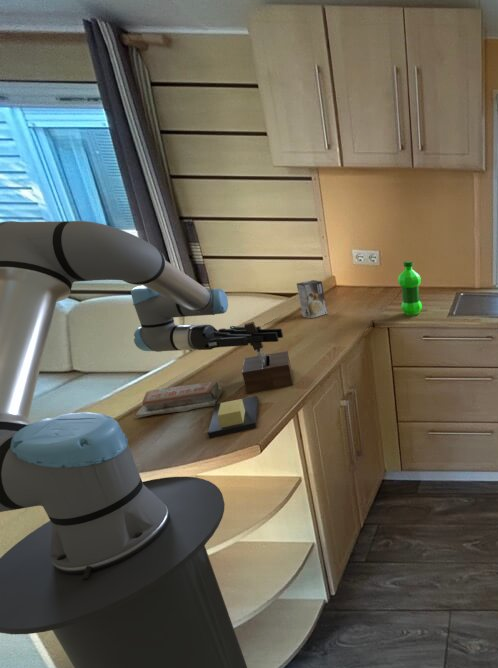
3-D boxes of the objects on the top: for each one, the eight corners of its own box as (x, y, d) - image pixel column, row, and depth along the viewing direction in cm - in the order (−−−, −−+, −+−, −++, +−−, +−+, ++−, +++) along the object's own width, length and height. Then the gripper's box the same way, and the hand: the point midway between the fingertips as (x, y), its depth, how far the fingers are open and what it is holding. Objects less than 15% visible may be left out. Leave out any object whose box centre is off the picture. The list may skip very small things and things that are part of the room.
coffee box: (319, 311, 198) (314, 279, 192) (327, 314, 195) (322, 281, 189) (302, 316, 191) (296, 283, 185) (310, 318, 188) (304, 284, 182)
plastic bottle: (397, 316, 192) (392, 263, 183) (407, 310, 201) (403, 259, 192) (417, 317, 190) (413, 264, 181) (426, 311, 199) (422, 260, 190)
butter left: (232, 425, 101) (228, 413, 100) (220, 428, 100) (217, 415, 99) (234, 412, 107) (231, 400, 106) (223, 414, 106) (220, 402, 104)
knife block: (292, 385, 125) (288, 364, 122) (247, 393, 120) (241, 372, 117) (291, 370, 135) (287, 351, 132) (249, 377, 130) (244, 357, 127)
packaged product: (219, 376, 120) (211, 391, 111) (223, 391, 121) (215, 406, 113) (144, 386, 113) (129, 403, 105) (150, 402, 115) (135, 419, 106)
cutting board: (256, 427, 103) (255, 422, 102) (209, 438, 99) (207, 432, 98) (258, 400, 116) (257, 395, 116) (217, 408, 112) (215, 403, 111)
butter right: (243, 423, 102) (240, 410, 101) (232, 425, 101) (228, 413, 100) (245, 410, 108) (242, 398, 107) (234, 412, 107) (231, 400, 106)
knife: (276, 384, 124) (252, 325, 117) (267, 387, 123) (243, 328, 116) (276, 375, 131) (254, 319, 124) (268, 378, 130) (245, 321, 123)
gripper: (215, 340, 129) (291, 337, 131) (184, 359, 114) (270, 356, 116) (209, 317, 126) (287, 315, 128) (176, 334, 112) (265, 332, 114)
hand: (279, 335), depth 122 cm, fingers closed on knife, 3 cm apart
